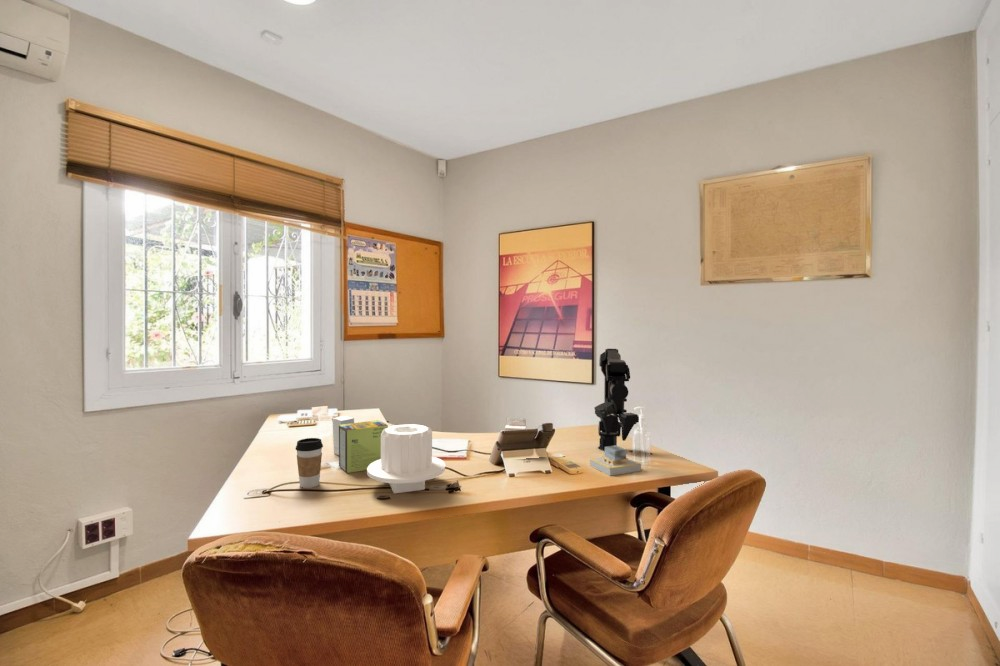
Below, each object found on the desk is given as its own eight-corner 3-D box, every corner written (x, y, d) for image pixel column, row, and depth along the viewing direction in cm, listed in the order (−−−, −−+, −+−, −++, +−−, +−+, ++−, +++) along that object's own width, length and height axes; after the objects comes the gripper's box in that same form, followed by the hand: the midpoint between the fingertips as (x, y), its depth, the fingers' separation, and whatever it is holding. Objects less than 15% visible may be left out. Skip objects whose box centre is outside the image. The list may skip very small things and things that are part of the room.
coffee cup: (296, 491, 148) (296, 444, 147) (294, 482, 155) (294, 438, 155) (324, 486, 152) (324, 441, 151) (321, 478, 159) (321, 435, 159)
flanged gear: (363, 478, 160) (363, 423, 159) (434, 470, 169) (435, 418, 168) (372, 506, 137) (371, 442, 136) (454, 494, 146) (454, 435, 145)
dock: (619, 461, 181) (619, 454, 181) (641, 470, 170) (641, 463, 170) (589, 465, 175) (590, 458, 175) (609, 475, 164) (610, 468, 164)
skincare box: (355, 455, 187) (355, 418, 186) (341, 458, 182) (341, 420, 182) (346, 450, 193) (346, 414, 192) (332, 453, 188) (332, 416, 188)
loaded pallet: (617, 458, 177) (617, 445, 177) (628, 462, 171) (628, 449, 171) (602, 460, 174) (602, 447, 174) (612, 465, 169) (612, 451, 168)
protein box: (388, 466, 173) (388, 424, 173) (346, 473, 165) (346, 430, 164) (378, 458, 182) (378, 419, 181) (338, 465, 173) (338, 424, 173)
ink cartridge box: (504, 456, 186) (504, 420, 185) (505, 453, 191) (505, 417, 190) (525, 457, 185) (525, 420, 185) (526, 453, 190) (526, 418, 190)
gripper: (583, 392, 177) (582, 433, 177) (614, 401, 160) (614, 446, 160) (607, 391, 181) (606, 431, 182) (640, 399, 165) (639, 442, 165)
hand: (615, 437), depth 172 cm, fingers open, 9 cm apart
